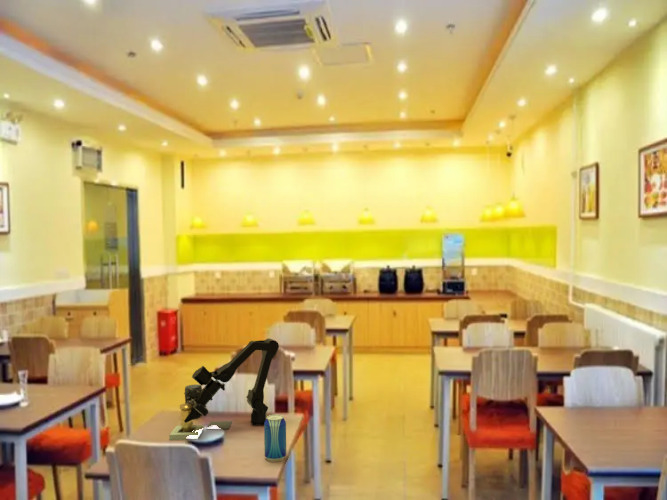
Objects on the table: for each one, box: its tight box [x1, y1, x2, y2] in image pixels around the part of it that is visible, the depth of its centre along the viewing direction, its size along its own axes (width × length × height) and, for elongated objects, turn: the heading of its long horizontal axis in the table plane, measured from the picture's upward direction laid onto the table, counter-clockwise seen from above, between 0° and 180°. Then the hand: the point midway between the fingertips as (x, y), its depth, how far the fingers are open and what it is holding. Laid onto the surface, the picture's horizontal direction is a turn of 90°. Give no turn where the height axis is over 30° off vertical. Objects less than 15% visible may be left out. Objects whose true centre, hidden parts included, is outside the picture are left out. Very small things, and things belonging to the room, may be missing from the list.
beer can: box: [263, 414, 287, 463], centre depth 212 cm, size 8×8×16 cm
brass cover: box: [179, 403, 194, 432], centre depth 239 cm, size 6×6×13 cm
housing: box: [168, 424, 205, 441], centre depth 239 cm, size 12×12×2 cm
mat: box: [206, 420, 233, 431], centre depth 250 cm, size 10×10×1 cm
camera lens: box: [184, 384, 203, 420], centre depth 264 cm, size 8×8×15 cm
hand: (183, 420), depth 238 cm, fingers closed on brass cover, 5 cm apart
